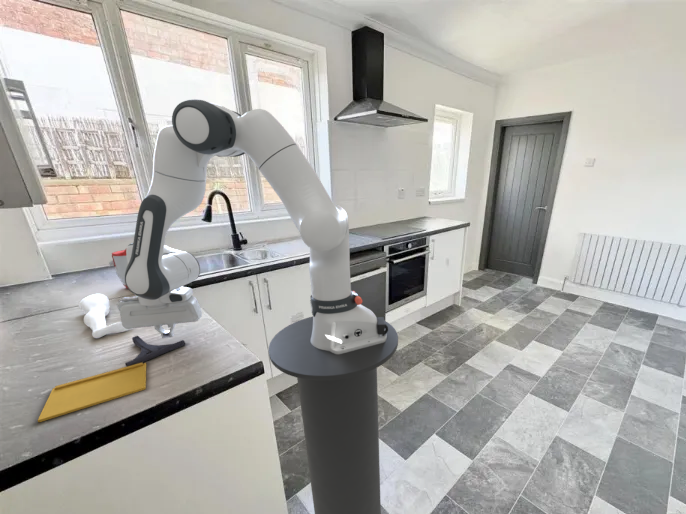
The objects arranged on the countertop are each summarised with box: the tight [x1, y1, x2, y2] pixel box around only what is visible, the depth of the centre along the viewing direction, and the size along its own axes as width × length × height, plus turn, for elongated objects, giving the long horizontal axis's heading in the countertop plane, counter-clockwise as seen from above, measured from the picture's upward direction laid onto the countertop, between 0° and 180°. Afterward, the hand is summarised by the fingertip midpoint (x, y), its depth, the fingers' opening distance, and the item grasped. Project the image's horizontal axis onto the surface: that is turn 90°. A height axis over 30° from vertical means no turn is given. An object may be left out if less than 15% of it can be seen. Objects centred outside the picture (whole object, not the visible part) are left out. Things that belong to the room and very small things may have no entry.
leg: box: [77, 293, 130, 339], centre depth 110 cm, size 7×35×10 cm
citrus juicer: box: [108, 247, 129, 290], centre depth 144 cm, size 16×17×20 cm
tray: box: [37, 362, 147, 423], centre depth 73 cm, size 18×13×1 cm
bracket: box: [124, 335, 186, 367], centre depth 90 cm, size 14×15×3 cm
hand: (168, 336), depth 95 cm, fingers closed
